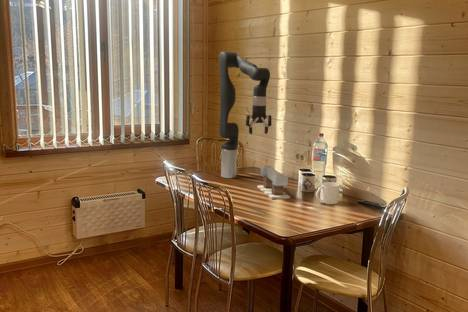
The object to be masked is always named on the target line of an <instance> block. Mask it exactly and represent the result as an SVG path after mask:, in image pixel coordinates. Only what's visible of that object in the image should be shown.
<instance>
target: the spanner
mask: <svg viewBox="0 0 468 312" xmlns="http://www.w3.org/2000/svg"><path fill="white" fill-rule="evenodd" d="M259 173H260V176H261V177H263V178H264V177H267V178H269V179H270V180H272V181H273V184H274V185H275V186H283V187H284V186H285V187H286V186H288V182H289V181H288V180H289V175H287V174H286V173H281V172H279V171H278V170H276V169H275V167H274V166H273V165H260V172H259Z"/></svg>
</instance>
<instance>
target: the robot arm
mask: <svg viewBox="0 0 468 312" xmlns="http://www.w3.org/2000/svg"><path fill="white" fill-rule="evenodd" d="M229 68H237V69H239V71H241V73H243V74H245V75H247V76H248V77H249V78H250V79H251V80H252V81H256V82H259V83H258V84H257V85H254V87H253V94H252V108H251V109H252V110H251V111H252V114H251V115H250V114H246V117H245V126H247V127H248V133H249V134H250V135H253V127H254V125H255V124H263V126H264V133H263V134H265V135H267V134H268V132H269V127H272V115H270V114H269V115H267V88H268V84H269V83H270V78H271V73H270V72H271V71H270V70H269V68H267V67H258V66H257V65H256V64H254V63H252V62H250V61H248V60H247V59H244V58H243V57H242V56H240V55H239V54H238V53H237V52H235V51H224V50H223V51H220V53H219V56H218V70H219V82H220V83H219V85H220V86H219V87H220V88H219V89H220V90H219V101H220V103H219V104H220V105H219V107H220V108H219V109H220V110H219V111H220V112H219V113H220V114H219V115H220V116H219V125H218V126H219V127H218V131H219V136H220V138H221V139H228V140H227V141H226V142H223V143H222V144H221V158H220V159H221V164H220V165H221V167H220V168H221V169H220V177H222V178H225V179H234V178H237V155H238V154H237V153H238V150H237V148H238V143H239V126H238V124H237V123H236V122H228V120H229V115H230V113H231V110H232V109H233V108H234V105H235V103H236V88H235V85H234V84H233V82H232V79H231V78H230V75H229ZM251 119H252V120H251ZM266 119H267V121H266ZM250 120H251V122H250Z"/></svg>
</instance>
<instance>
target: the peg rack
mask: <svg viewBox="0 0 468 312" xmlns="http://www.w3.org/2000/svg"><path fill="white" fill-rule="evenodd" d="M256 187H257V188H258V189H259V190H260V191H262V193H264V194H265V195H266V196H267V197H268V198H270V199H271V200H284V199H285V200H288V199H289V200H290V199H291V196H290V195H288V194H287V193H286V192H284V186H275V185H274V184H273V181H272V180H270V179H269V178H267V177H263V184H257V185H256Z"/></svg>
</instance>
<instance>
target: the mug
mask: <svg viewBox="0 0 468 312" xmlns="http://www.w3.org/2000/svg"><path fill="white" fill-rule="evenodd" d="M319 193H320V194H319ZM339 194H340V184H339V183H338V182H333V181H325V182H324V181H323V182H321V183H320V187H318V189H317V191H316V193H315V197H316V198H317V200H318V201H320V203H321V202H322V204H324V203H325V205H338V203H339ZM319 195H320V196H319Z"/></svg>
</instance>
